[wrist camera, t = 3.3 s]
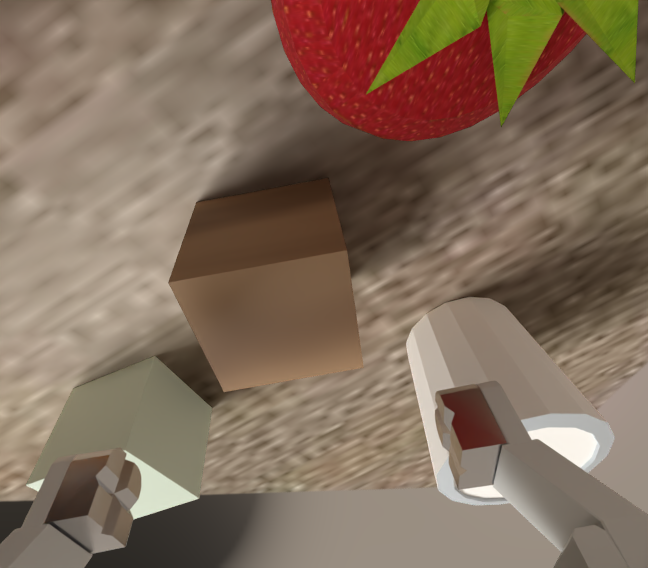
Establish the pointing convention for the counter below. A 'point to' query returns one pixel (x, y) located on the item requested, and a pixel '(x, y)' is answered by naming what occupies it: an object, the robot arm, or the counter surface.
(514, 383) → the shot glass
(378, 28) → the strawberry
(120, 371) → the sage block
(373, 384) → the counter surface
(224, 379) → the walnut block
